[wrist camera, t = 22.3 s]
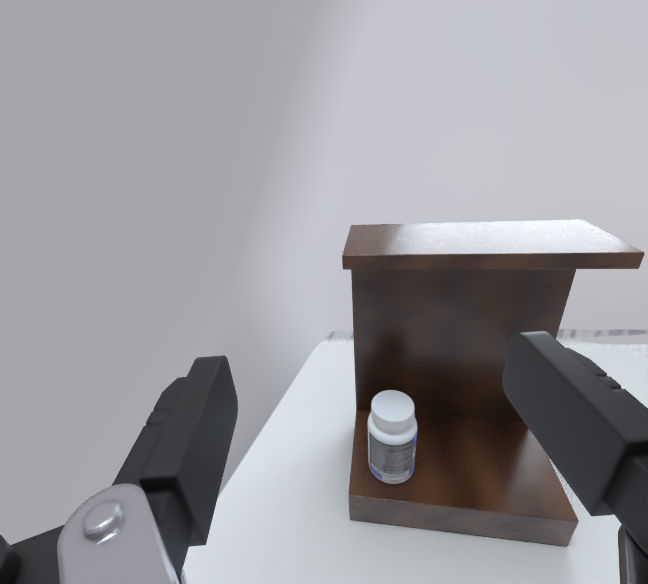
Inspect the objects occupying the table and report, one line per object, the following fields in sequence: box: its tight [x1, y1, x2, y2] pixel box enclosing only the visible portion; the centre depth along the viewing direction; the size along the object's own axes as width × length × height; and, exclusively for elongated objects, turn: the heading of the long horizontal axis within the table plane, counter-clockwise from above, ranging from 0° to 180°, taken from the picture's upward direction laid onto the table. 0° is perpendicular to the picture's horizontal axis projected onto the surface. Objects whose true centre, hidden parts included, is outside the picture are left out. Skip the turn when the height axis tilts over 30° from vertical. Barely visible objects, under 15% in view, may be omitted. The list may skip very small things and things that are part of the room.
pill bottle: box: [367, 390, 417, 484], centre depth 33 cm, size 5×5×8 cm
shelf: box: [342, 220, 644, 546], centre depth 32 cm, size 20×12×27 cm, turn 81°
